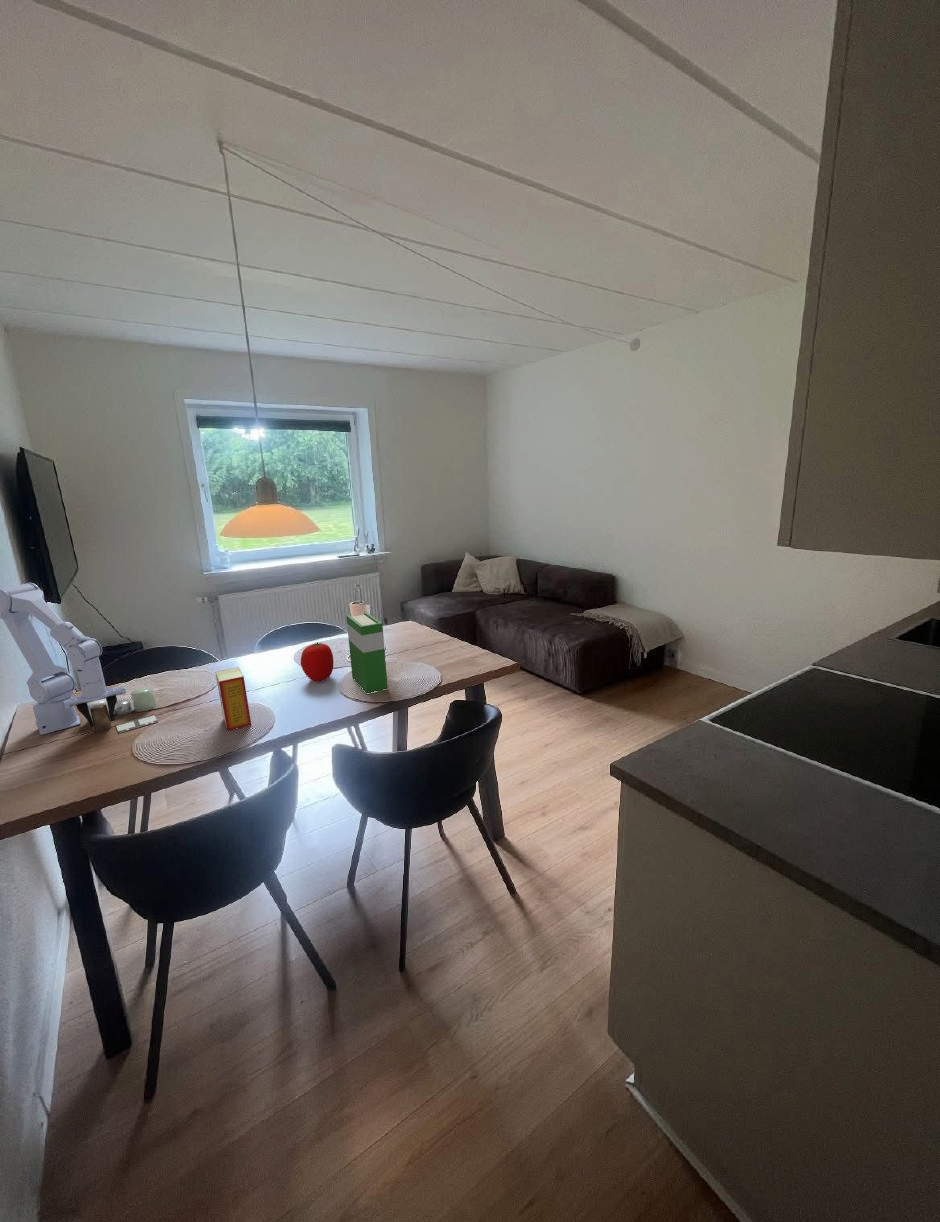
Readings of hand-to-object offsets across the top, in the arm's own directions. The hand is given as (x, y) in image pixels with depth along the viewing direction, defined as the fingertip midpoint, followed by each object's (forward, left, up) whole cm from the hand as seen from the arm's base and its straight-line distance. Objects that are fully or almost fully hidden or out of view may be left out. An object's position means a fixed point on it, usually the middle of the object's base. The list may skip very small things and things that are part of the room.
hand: (102, 722), depth 146 cm
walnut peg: (0, 0, -2) cm, 2 cm away
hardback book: (+75, -28, -2) cm, 80 cm away
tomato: (+64, -11, -2) cm, 65 cm away
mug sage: (+12, +8, -2) cm, 15 cm away
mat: (+8, -4, -2) cm, 9 cm away
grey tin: (+6, +9, -2) cm, 11 cm away
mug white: (0, +8, -2) cm, 8 cm away
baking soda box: (+31, -25, -2) cm, 40 cm away
